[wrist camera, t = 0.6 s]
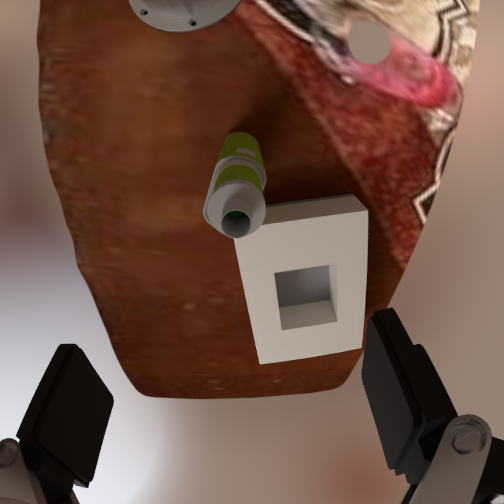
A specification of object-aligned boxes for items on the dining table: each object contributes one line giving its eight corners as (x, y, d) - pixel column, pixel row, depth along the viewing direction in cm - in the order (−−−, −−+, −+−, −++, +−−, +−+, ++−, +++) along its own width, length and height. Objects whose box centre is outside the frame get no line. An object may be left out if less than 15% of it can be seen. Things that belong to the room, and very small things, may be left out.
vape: (262, 136, 33) (285, 198, 16) (245, 187, 36) (247, 295, 18) (229, 126, 33) (210, 176, 15) (213, 177, 35) (183, 278, 18)
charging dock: (233, 210, 37) (231, 229, 33) (352, 193, 36) (368, 210, 32) (258, 337, 47) (259, 364, 42) (351, 322, 46) (361, 347, 41)
